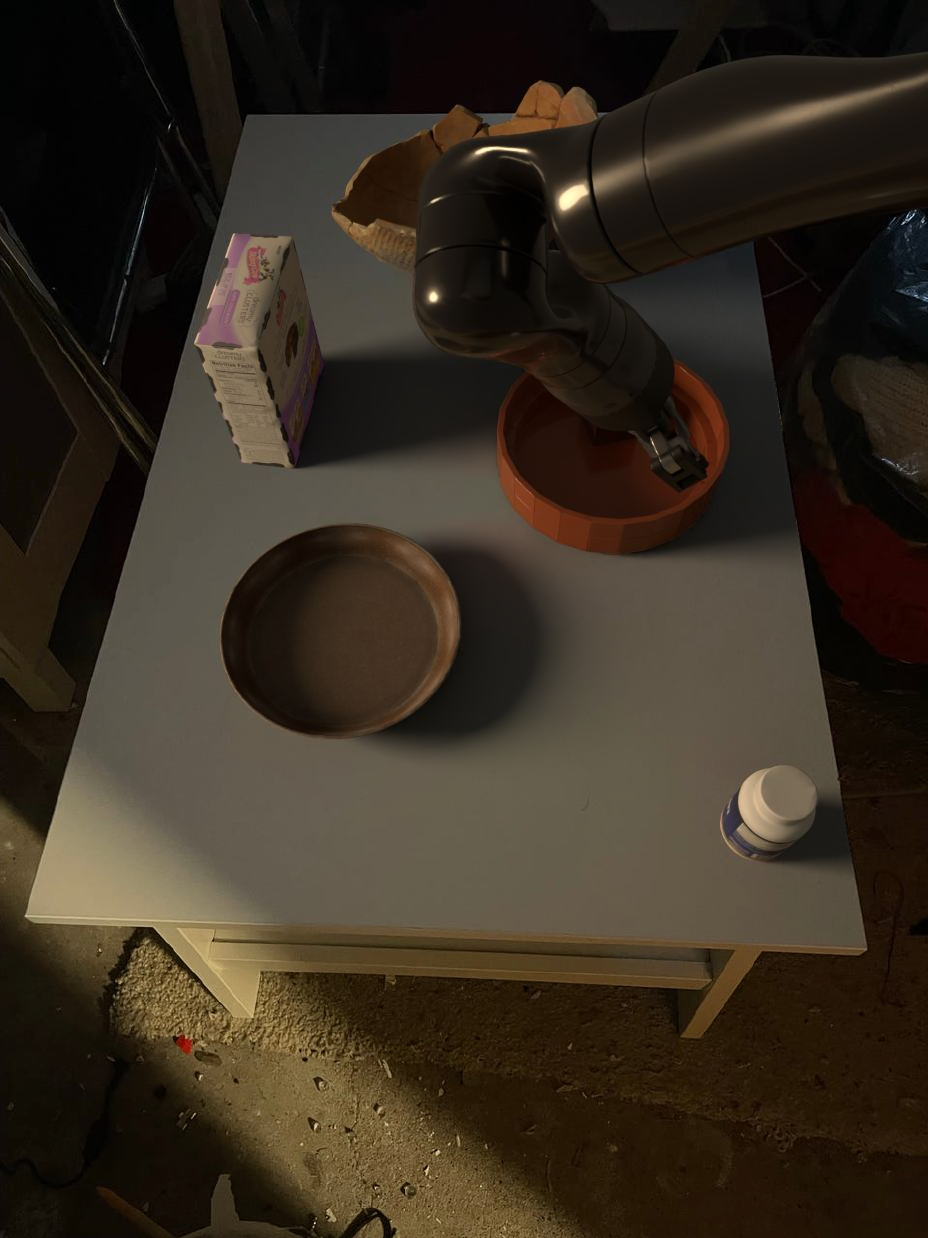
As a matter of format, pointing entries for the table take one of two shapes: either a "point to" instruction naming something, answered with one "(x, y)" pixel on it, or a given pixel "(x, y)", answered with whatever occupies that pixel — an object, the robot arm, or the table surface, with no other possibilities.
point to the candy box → (262, 349)
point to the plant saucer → (340, 631)
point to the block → (605, 434)
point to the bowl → (603, 470)
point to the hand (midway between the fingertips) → (675, 425)
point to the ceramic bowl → (393, 177)
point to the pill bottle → (769, 812)
